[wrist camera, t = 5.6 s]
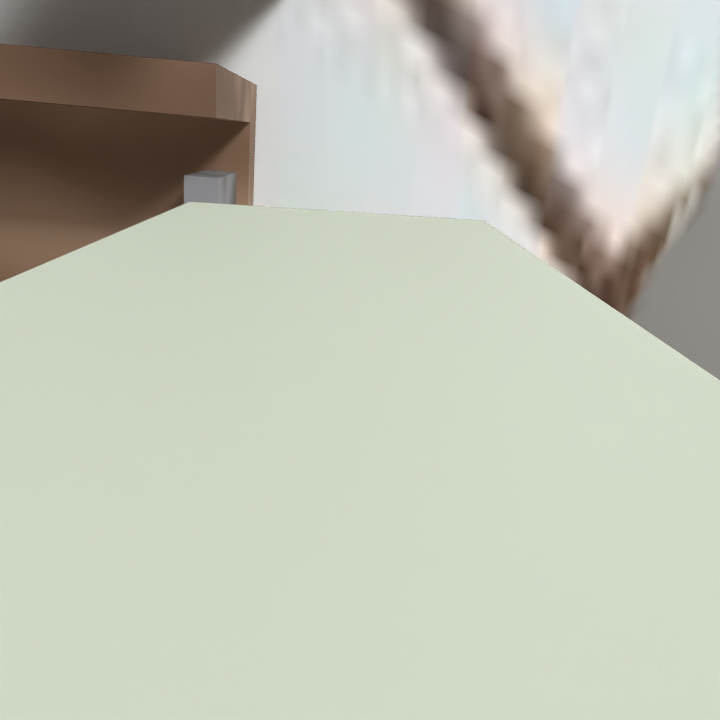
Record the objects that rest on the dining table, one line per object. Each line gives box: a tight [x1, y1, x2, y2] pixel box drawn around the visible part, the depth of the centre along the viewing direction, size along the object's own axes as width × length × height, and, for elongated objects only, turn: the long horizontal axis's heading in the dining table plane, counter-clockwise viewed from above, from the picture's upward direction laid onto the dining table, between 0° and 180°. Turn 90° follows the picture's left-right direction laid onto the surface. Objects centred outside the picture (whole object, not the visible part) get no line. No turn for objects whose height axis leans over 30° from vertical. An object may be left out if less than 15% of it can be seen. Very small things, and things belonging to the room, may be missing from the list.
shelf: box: [0, 44, 257, 282], centre depth 26 cm, size 18×16×8 cm
